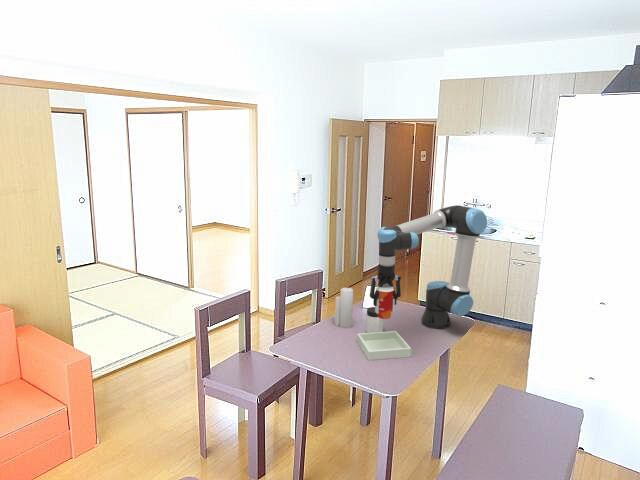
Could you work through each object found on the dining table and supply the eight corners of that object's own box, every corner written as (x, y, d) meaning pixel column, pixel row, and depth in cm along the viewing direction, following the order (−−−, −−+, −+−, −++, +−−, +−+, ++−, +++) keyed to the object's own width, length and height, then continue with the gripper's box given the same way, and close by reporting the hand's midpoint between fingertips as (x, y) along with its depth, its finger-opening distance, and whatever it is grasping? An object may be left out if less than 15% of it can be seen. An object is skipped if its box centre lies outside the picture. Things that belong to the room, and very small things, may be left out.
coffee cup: (373, 313, 224) (374, 283, 220) (390, 313, 224) (391, 282, 221) (377, 320, 216) (378, 289, 212) (394, 319, 216) (396, 288, 213)
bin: (395, 338, 235) (396, 330, 234) (410, 356, 216) (411, 348, 215) (356, 341, 231) (357, 333, 230) (368, 360, 212) (369, 351, 211)
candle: (354, 325, 251) (355, 289, 246) (346, 329, 245) (347, 292, 241) (338, 319, 258) (339, 284, 254) (329, 323, 253) (330, 287, 248)
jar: (363, 329, 245) (363, 307, 243) (376, 327, 248) (377, 305, 246) (371, 336, 237) (372, 313, 235) (385, 333, 240) (386, 311, 238)
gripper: (404, 261, 220) (401, 307, 225) (363, 262, 216) (361, 310, 221) (410, 265, 212) (407, 313, 217) (367, 267, 209) (366, 316, 214)
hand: (384, 311), depth 219 cm, fingers closed on coffee cup, 7 cm apart
